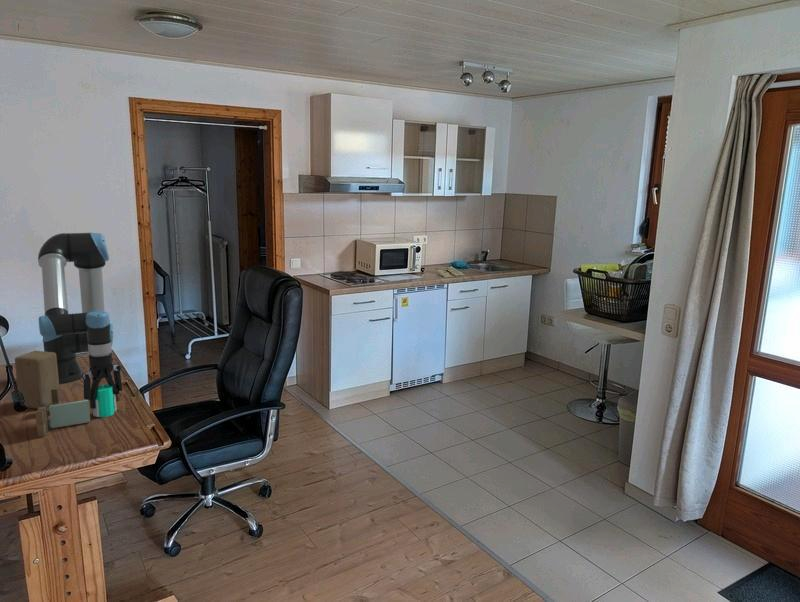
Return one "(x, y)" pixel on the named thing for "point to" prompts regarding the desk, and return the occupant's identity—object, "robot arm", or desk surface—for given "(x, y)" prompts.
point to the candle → (105, 400)
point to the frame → (42, 412)
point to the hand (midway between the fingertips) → (105, 412)
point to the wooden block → (37, 377)
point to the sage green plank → (69, 413)
